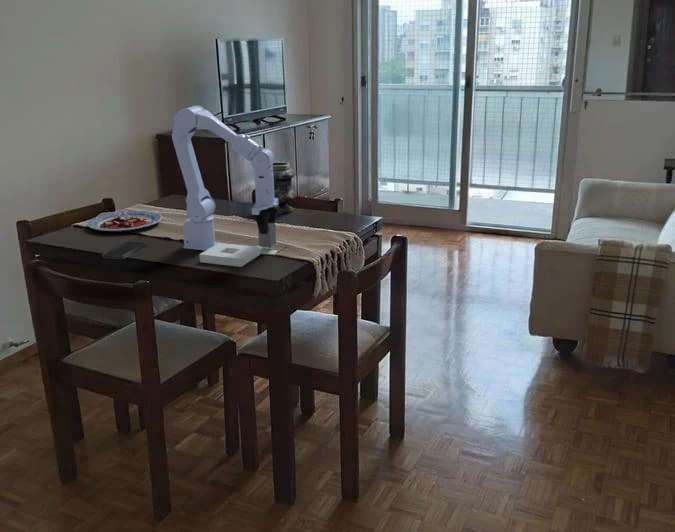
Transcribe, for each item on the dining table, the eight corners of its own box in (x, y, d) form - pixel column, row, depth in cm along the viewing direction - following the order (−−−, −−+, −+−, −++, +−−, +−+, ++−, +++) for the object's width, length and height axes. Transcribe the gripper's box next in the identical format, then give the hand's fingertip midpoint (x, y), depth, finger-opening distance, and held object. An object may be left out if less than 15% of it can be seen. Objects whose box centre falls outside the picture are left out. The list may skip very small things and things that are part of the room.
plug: (259, 246, 218) (258, 224, 216) (264, 243, 222) (263, 221, 220) (270, 247, 217) (269, 225, 215) (276, 244, 221) (275, 222, 218)
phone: (147, 243, 227) (122, 257, 213) (147, 246, 227) (122, 260, 213) (125, 241, 229) (99, 255, 215) (126, 244, 229) (100, 258, 215)
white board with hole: (200, 262, 209) (199, 254, 209) (220, 250, 220) (219, 242, 219) (241, 266, 205) (240, 258, 204) (259, 254, 215) (259, 247, 214)
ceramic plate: (135, 238, 235) (134, 229, 234) (72, 233, 243) (71, 224, 242) (176, 218, 258) (175, 211, 257) (116, 214, 266) (115, 207, 265)
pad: (248, 252, 218) (248, 251, 218) (261, 244, 226) (261, 243, 225) (274, 255, 215) (274, 253, 214) (286, 246, 222) (286, 245, 222)
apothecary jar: (299, 206, 272) (298, 160, 266) (290, 214, 260) (288, 166, 255) (270, 205, 274) (267, 160, 268) (260, 213, 263) (257, 166, 257)
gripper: (265, 195, 206) (268, 239, 210) (286, 184, 219) (288, 226, 223) (244, 193, 208) (247, 237, 213) (266, 183, 221) (268, 224, 226)
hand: (266, 231), depth 218 cm, fingers closed on plug, 4 cm apart
